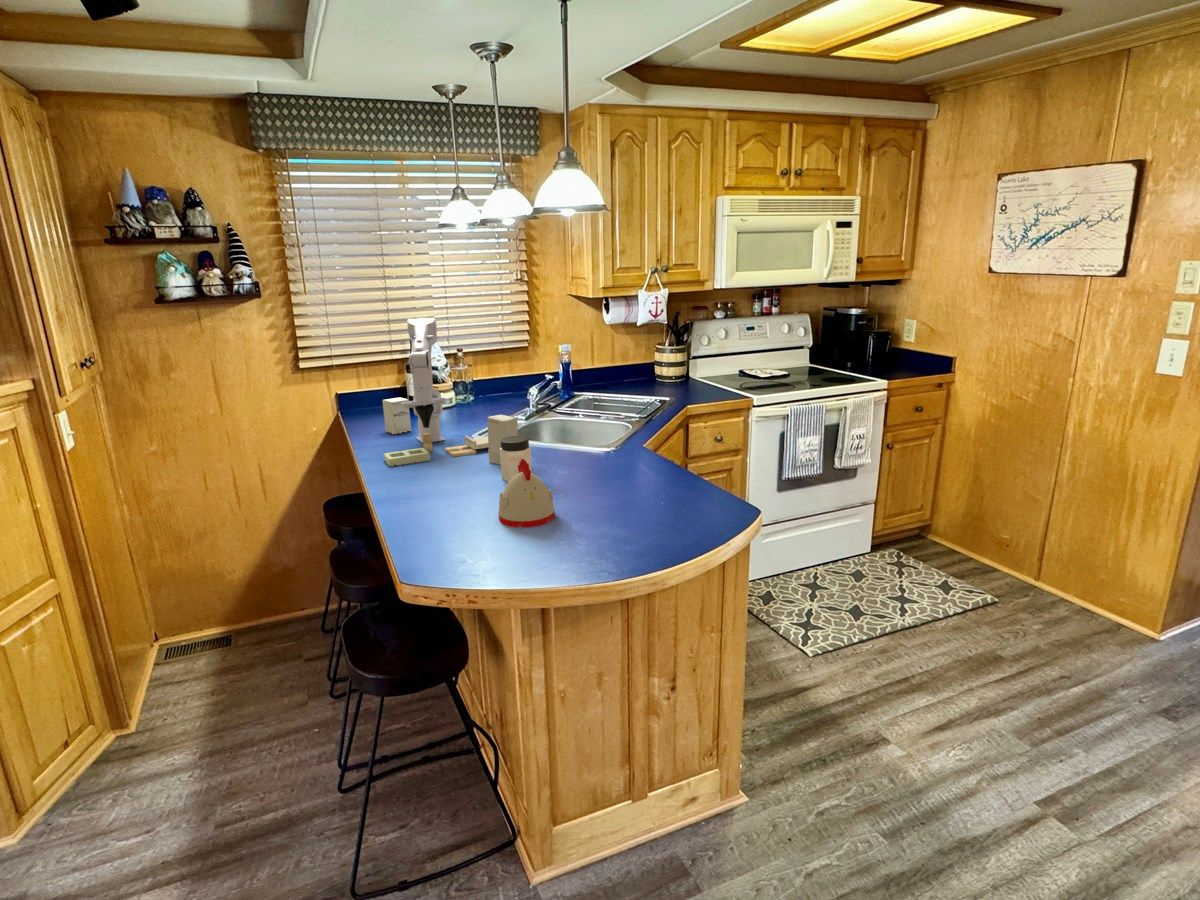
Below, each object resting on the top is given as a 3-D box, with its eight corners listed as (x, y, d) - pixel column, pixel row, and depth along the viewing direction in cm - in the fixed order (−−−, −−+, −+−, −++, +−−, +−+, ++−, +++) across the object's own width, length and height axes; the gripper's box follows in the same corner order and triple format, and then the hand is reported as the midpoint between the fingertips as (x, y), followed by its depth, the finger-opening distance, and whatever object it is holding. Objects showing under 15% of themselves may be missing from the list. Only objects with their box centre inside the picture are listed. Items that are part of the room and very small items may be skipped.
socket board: (384, 460, 227) (383, 453, 227) (423, 454, 233) (423, 447, 233) (389, 466, 221) (389, 459, 220) (430, 460, 227) (429, 453, 226)
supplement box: (393, 435, 261) (390, 402, 257) (385, 431, 266) (381, 399, 263) (412, 431, 265) (408, 399, 262) (403, 428, 271) (399, 396, 267)
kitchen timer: (507, 531, 166) (503, 471, 162) (492, 513, 178) (488, 457, 174) (562, 521, 171) (559, 463, 167) (544, 504, 183) (541, 449, 179)
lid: (465, 443, 240) (464, 436, 239) (487, 440, 244) (486, 432, 243) (473, 449, 232) (473, 441, 232) (496, 446, 236) (495, 438, 235)
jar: (512, 472, 211) (509, 434, 208) (536, 475, 208) (534, 436, 205) (497, 481, 203) (494, 442, 200) (522, 484, 200) (519, 444, 197)
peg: (422, 450, 238) (421, 433, 236) (431, 449, 239) (429, 432, 238) (425, 452, 236) (423, 435, 234) (433, 451, 237) (432, 434, 235)
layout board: (445, 450, 237) (444, 447, 237) (467, 447, 241) (467, 444, 241) (453, 456, 230) (452, 453, 229) (476, 453, 233) (476, 449, 233)
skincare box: (488, 462, 222) (485, 417, 218) (502, 458, 227) (499, 413, 223) (506, 466, 217) (503, 420, 213) (520, 462, 222) (517, 416, 218)
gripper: (403, 391, 225) (407, 432, 228) (447, 386, 232) (450, 426, 235) (398, 388, 231) (402, 428, 234) (441, 383, 237) (444, 422, 241)
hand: (426, 427), depth 235 cm, fingers closed
